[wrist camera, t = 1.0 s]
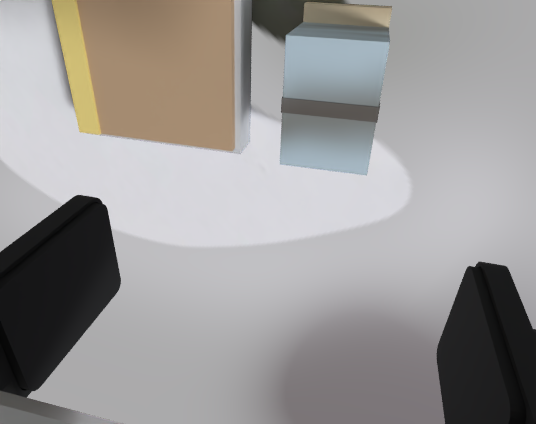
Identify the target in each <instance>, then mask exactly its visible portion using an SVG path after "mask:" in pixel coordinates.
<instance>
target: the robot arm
mask: <svg viewBox="0 0 536 424" xmlns="http://www.w3.org/2000/svg"><path fill="white" fill-rule="evenodd" d="M120 284H121V278H120V273H119V268H118V263H117V257H116V252H115V247H114V242H113V237H112V231H111V226H110V220H109V215H108V210H107V207H106V206H105V205H104V204H102V201H101V200H100V199H98V198H95V197H89V196H83V195H77V196H75V197H73V198H72V199H70V200H69V201H68V202H66V203H65V204H64V205H62V206H61V207H60V208H58V209H57V210H56V211H54V212H53V213H52V214H51V215H49V216H48V217H46V218H45V219H44V220H42V221H41V222H40V223H38V224H37V225H36V226H34V227H33V228H32V229H30V230H29V231H28V232H26V233H25V234H24V235H22V236H21V237H20V238H18V239H17V240H16V241H14V242H13V243H12V244H10V245H9V246H8V247H6V248H5V249H4V250H2V251H1V252H0V424H123V423H119V422H115V421H111V420H108V419H104V418H101V417H96V416H93V415H89V414H86V413H82V412H78V411H74V410H70V409H67V408H63V407H59V406H56V405H52V404H48V403H44V402H40V401H37V400H33V399H29V398H27V396H28V395H29V394H30V393H31V391H35V390H37V389H39V388H40V387H41V385H42V384H43V383H44V382H45V381H46V379H47V378H48V377H49V376H50V374H51V373H52V372H53V371H54V370H55V368H56V367H57V366H58V365H59V363H60V362H61V361H62V360H63V358H64V357H65V356H66V355H67V353H68V352H69V351H70V350H71V349H72V347H73V346H74V345H75V344H76V342H77V341H78V340H79V339H80V338H81V336H82V335H83V334H84V333H85V331H86V330H87V329H88V328H89V327H90V325H91V324H92V323H93V322H94V320H95V319H96V318H97V317H98V315H99V314H100V313H101V312H102V311H103V309H104V308H105V307H106V306H107V304H108V303H109V302H110V300H111V299H112V298H113V297H114V296H115V294H116V293H117V292H118V290H119V288H120ZM437 365H438V372H439V380H440V386H441V395H442V402H443V410H444V418H445V424H536V330H535V329H533V328H532V326H531V324H530V321H529V319H528V316H527V314H526V311H525V309H524V306H523V304H522V301H521V299H520V297H519V294H518V292H517V289H516V287H515V284H514V282H513V279H512V277H511V274H510V272H509V270H508V268H507V267H506V266H502V265H497V264H491V263H485V262H478V263H477V264H476V266H475V267H471V266H469V267H468V268H467V269H466V271H465V274H464V277H463V279H462V282H461V285H460V287H459V290H458V293H457V295H456V298H455V301H454V304H453V306H452V309H451V312H450V315H449V317H448V320H447V322H446V325H445V328H444V330H443V334H442V336H441V338H440V341H439V344H438V348H437Z"/></svg>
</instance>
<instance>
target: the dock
mask: <svg viewBox="0 0 536 424" xmlns="http://www.w3.org/2000/svg"><path fill="white" fill-rule="evenodd" d="M52 5H53V9H54V14H55V19H56V23H57V28H58V33H59V37H60V42H61V47H62V51H63V56H64V61H65V65H66V70H67V75H68V80H69V84H70V89H71V94H72V98H73V103H74V108H75V112H76V117H77V122H78V126H79V131H80V132H83V133H87V134H95V135H102V136H110V137H117V138H124V139H132V140H139V141H147V142H154V143H161V144H169V145H176V146H184V147H191V148H199V149H206V150H213V151H221V152H228V153H236V154H241V153H242V152H243V150H244V149H245V147H246V146H247V145H248V143H249V142H250V101H251V96H250V95H251V35H252V34H251V33H252V0H52Z"/></svg>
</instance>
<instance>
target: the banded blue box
mask: <svg viewBox="0 0 536 424" xmlns="http://www.w3.org/2000/svg"><path fill="white" fill-rule="evenodd" d="M391 12H392V6H377V5H359V4H337V3H318V2H306V3H304V17H303V23H301V24H300V25H299V26H297V27H296V28H295V29H293V30H292V31H291V32H290V33H288V34H287V35H286V44H285V66H284V86H283V97H282V105H281V112H282V128H281V149H280V164H282V165H289V166H297V167H305V168H313V169H320V170H328V171H336V172H344V173H352V174H359V175H367V172H368V166H369V160H370V154H371V149H372V143H373V137H374V131H375V125H376V123H377V120H378V114H379V108H380V96H381V90H382V85H383V79H384V73H385V67H386V61H387V56H388V50H389V44H390V38H389V23H390V17H391Z"/></svg>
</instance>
